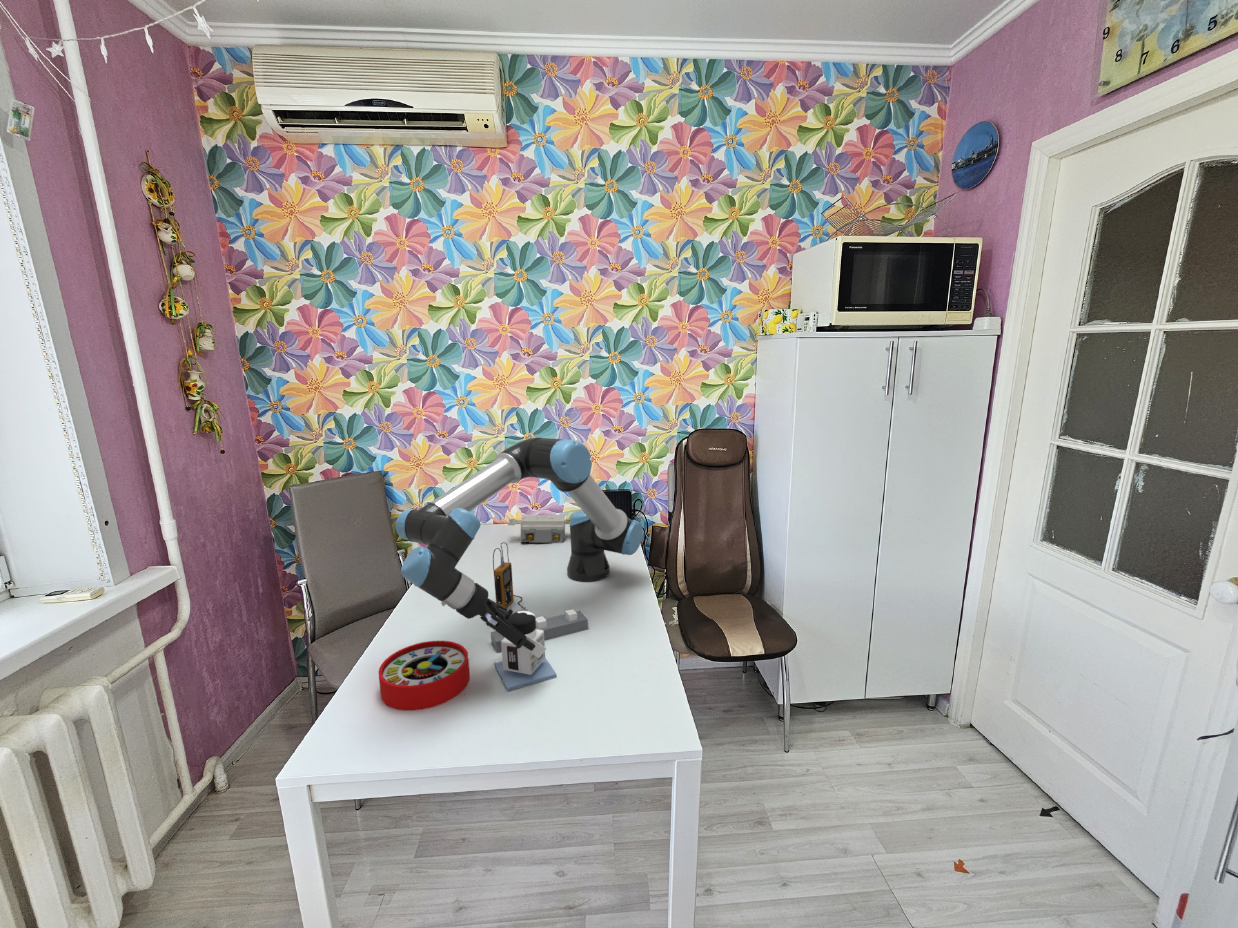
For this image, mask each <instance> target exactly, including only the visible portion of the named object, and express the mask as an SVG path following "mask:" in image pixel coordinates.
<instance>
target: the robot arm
mask: <svg viewBox="0 0 1238 928" xmlns="http://www.w3.org/2000/svg"><path fill="white" fill-rule="evenodd" d="M591 458H592V456H591V453H590V451H589V449H588V447H587V446H586V445H585V444H584V443H583V442H580V441H578V440H573V439H570V438H565V439H564V438H547V437H537V436H536V437H531V438H527V439H524V440H521V441H519V442H517V443H514V444H513V445H511V446H509V447H508V448H506V449H504V450H502V451H501V452H500V453H499V452H498V454H496V456H495V458H494V461H492V462H491V463H489V464H487V465H486V466H485V467H483V468H482V469H480V470H478V471H477V472H475V473H474V474H472V475H471V476H469V477H467V478H466V479H464V480H463V481H461V482H460V483H458V484H457V485H455V486H453V487H452V488H451V489H449V490H447V491H446V492H444V493H443V494H441V495H440V496H438V497H437V498H435V499H433V500H432V501H430V502H429V503H428V504H426V505H424V506H422V507H421V508H419V509H417V508H416V509H414V508H413V509H406V510H404V511H402V512H401V513H400V514H399V515H398V516H397V519H396V521H395V530H396V533H397V534H398V536H399V537H400V538H402V539H404V540H407V541H408V542H411V543H417V544H419V546H417V547H416V548H414V549H413V550H412V551H411V552H410V553H409V554H408V556H407V557H406V558H405V560H404V561H403V563H402V565H401V567H400V568H401V569H400V574H401V576H402V577H403V578H404V579H406V580H407V581H409V582H410V584H413V586H414V587H417V588H418V589H420V590H422V591H423V592H425V593H426V594H429V595H430V596H431V597H433V598H435V599H436V600H438V601H440V602H441V603H440V604H441V606H442V607H445V606H446V605H447V606H448V607H449V608H450V609H452V610H455V611H456V613H458V614H459V615H462V617H464V618H466V619H470V620H472V619H473V618H475V617H477V616H480V620H481V621H483V622H485V625H486V626H487V627H489V628H491V629H493V631H497V632H498V633H500V634H501V635H502V636H503V637H505V638H506V639H507V640H509V641H510V642H511V643H513V644H514V645H515V646H516V647H515V648H517V649H518V648H521V647H522V648H524V649H525V650H527V651H528V652H530V653H532V654H533V655H535V656H536V657H538V658H540V657H541V655H542V654H543V653H544V651H545V652H546V651H547V648H546V647H544V646H543V645H541V644H540V643H538V642H537V641H535V640H533V639H532V638H530V637H529V636H527V635H526V634H525V635H524V634H523V633H521V632H520V631H519V630H518V629H517V628H515V627H514V626H513V625H512V624H510V623H509V622H508V618H509V617H510V615H511V614H512V613H513V612H514V611H513V610H512V609H511V608H509V610H508V607H507V608H505V607H503V606H501V605H499V604H497V603H496V601H493V600H492V599H490V598H489V591H488V590H487V589H486V588H485V587H484V586H482V585H481V584H479V583H477V582H475V581H474V580H473V579H472V578H471V577H469V576H468V575H466V574H465V573H463V572H462V571H460V570H458V569H457V568H456V566H457V565H458V563H459V562H460V560H461V559H462V557H463V555H464V554H465V553H466V551H467V549H468V548H469V547H470V545H471V544H472V542H473V540H475V538H476V537H475V536H476V535H477V533H478V531H479V530H480V528H481V520H480V519H479V518H478V517H477V516H476V515H475V514H473V513H472V512H471V511H472V510H474V509H476V507H478V506H479V505H481V504H483V503H484V502H486V501H487V500H488V499H490V498H491V497H492V496H494V495H495V494H496V493H498V492H500V491H501V490H502V489H505V487H507V486H509V484H516V483H519V482H520V481H521V480H523V479H527V478H537V479H543V480H548V481H550V482H551V483H552V484H553V485H554V487H555V488H556V489H557V490H558V491H560V492H563V493H567V494H568V495H569V496H570V498H572V500H573V501H574V502H575V504H577V506H578V507H579V509H580V510H576V511H575V512H572V513H571V515H570V519H569V520H570V524H569V535H570V537H569V538H570V551H571V553H570V556H569V561H568V564H567V566H566V574H567V577H568V578H569V579H571V580H573V581H578V582H585V583H586V582H595V581H600V580H603V579H605V578H607V577H608V576H609V575H610V573H611V571H610V570H611V569H610V564H609V562H608V558H607V556H606V553H605V551H606V552H612V553H617V554H622V555H624V556H625V555H626V556H631V555H633V554H635V553H636V552H637V551H638V549H639V548H640V545H641V543H642V540H643V526H642V523H641V522H640V521H639V520H636V519H631V518H629V517H628V516H627V514H626V513H625V512H624V511H623V510H622V509H619V508H617V507H615V505H614V504H613V503H612V502H611V500H610V499H609V498H608V496H607V495H606V494H605V492H604V491H603V490H602V488H601V486H599V485H598V483H597V482H596V481H595V479H594V478H593V477H592V475H591V472H592V471H591V470H592V465H593V464H592V460H591ZM421 544H422V546H420V545H421ZM423 545H425V546H427V547H425V546H423Z"/></svg>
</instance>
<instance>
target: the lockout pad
mask: <svg viewBox="0 0 1238 928" xmlns="http://www.w3.org/2000/svg"><path fill="white" fill-rule="evenodd" d="M494 667H495V669H496V672H497V673H498V676H499V677H500V680H501V682H502V684H503V686H504V687H505V690H506V691H507V692H510V691H513V690H517V689H521V688H523V687H527V686H530V685H534V684H537V683H542V682H545V681H548V680H551V679H555V678H557V676H558V675H557V673H556V671H555V669H554V668H553V667H552V665H551V664H550V662H549V661H548V660H547V658H546V657H545V659H544V660H543V661H542V663H541V664H540V665H539V666H538V667H537V668H536V670H535V671H534V672H533V673H532V674H531V675H529V674H524V673H518V672H513V671H507V670H503V661H498V662H494Z"/></svg>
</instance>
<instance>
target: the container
mask: <svg viewBox="0 0 1238 928" xmlns="http://www.w3.org/2000/svg"><path fill="white" fill-rule="evenodd" d="M518 611H519V612H516V611H515V612H516V613H513V614H512V615H510V617H509V618H508V622H509V623H510V624H512V625H513V626H514V627H515V628H517V629H518V630H519V631H520V632H521V633H523V634H524V635H525V634H526V635H527V636H529V637H530V638H532V639H533V640H535V641H537V642H538V643H540V644H541V645H543V646H544V647H545V640H544V631H543V630H538V629H536V618H537V617H536V614H534V613H533V612H532V611H529V610H522V611H520V610H518ZM501 647H502V651H501V657H502V658H501V659H502V661H503V670H507V671H513V672H518V673H524V674H529V675H531V674H532V673H533V672H534V671H535V670H536V668H537V667H538V666H539V665H540V664H541V663H542V661H543V660H544V659H545V658H546V650H545V651H544V653H543V654H542V655H541V657H540V658H538V657H536V656H535V655H533V654H532V653H530V652H528V651H527V650H525V649H524V648H522V647H521V648H518V649H517V648H515V647H516V646H515V645H514V644H513V643H511V642H510V641H509V640H507V639H506V638H504V639H503V640H502V641H501Z"/></svg>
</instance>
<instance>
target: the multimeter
mask: <svg viewBox="0 0 1238 928" xmlns="http://www.w3.org/2000/svg"><path fill="white" fill-rule="evenodd" d="M502 544H505V545H506V548H507V552H506V554H507V556H509V547H508V546H509V545H508V544H507V543H506V542H504V541H503V542H501V543H500V548H498V547H497V548H495V549H494V550H493V553H492V569H493V579H494V591H495V602H496V603H497V604H499V605H501V606H503V607H505V608H507V609H508V607H509V606H510V605H511V604H512V603H513V602H514V597H516V598H517V597H518V598H520V599H521V600H520V601H518V602H517V604H518V605H519V606H521V608H522V609H521V610H516V611H513V613H516V612H519V611H523V609H524V610H525V611H528V609H527V607H525V606H524V605H523V604H521V603H522V601H523V597H521V596H519V595H514V585H513V584H514V582H513V571H512V570H513V568H512V562H510V559H509V557H507V561H508V562H506V561H504V550H503V546H502ZM496 550H499V552H500V553H501V554H500V564H499V565H498V566H497V567H496V568H495V562H494V561H495V558H494V557H495V553H496ZM513 613H512V614H513ZM512 614H511V615H512Z"/></svg>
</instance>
